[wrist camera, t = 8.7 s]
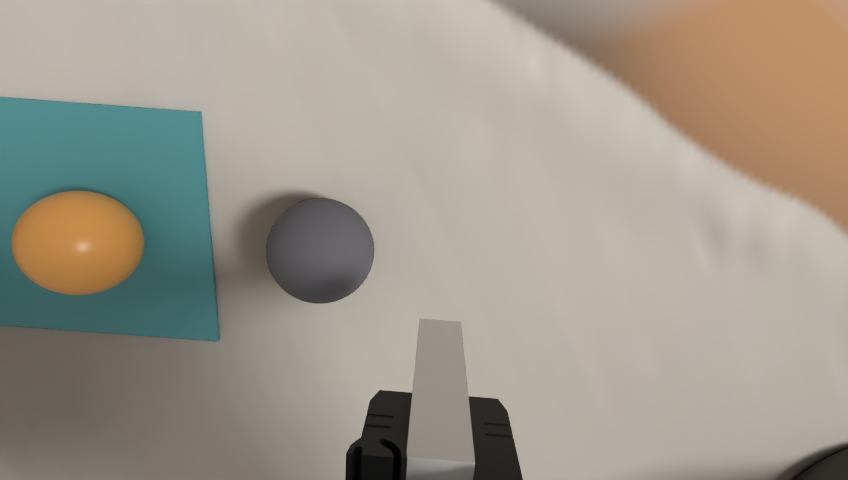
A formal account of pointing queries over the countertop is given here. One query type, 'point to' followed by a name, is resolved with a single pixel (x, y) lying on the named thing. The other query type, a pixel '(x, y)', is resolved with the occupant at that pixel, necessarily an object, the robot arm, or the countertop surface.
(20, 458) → the countertop surface
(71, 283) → the object ball
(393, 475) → the robot arm
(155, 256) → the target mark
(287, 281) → the gray ball
